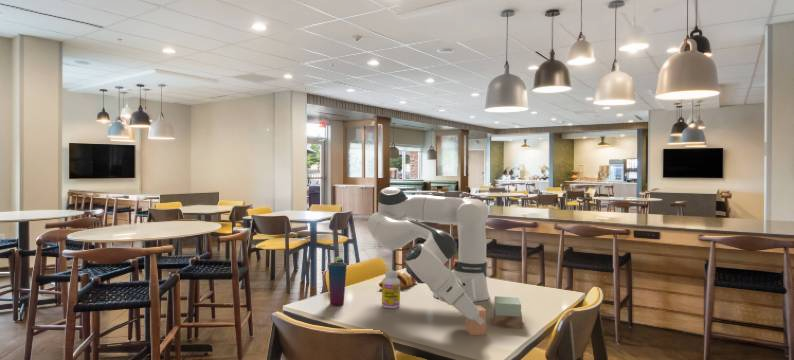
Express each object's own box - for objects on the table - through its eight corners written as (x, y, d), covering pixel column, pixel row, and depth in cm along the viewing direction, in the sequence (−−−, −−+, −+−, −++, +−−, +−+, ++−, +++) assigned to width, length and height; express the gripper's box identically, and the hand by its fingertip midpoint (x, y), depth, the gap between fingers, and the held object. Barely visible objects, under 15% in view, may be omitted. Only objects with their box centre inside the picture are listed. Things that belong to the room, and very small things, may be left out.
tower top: (495, 315, 146) (495, 303, 145) (494, 307, 153) (494, 296, 153) (520, 316, 144) (521, 304, 144) (518, 309, 152) (518, 297, 152)
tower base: (493, 327, 146) (493, 315, 145) (493, 318, 154) (493, 307, 154) (522, 330, 144) (522, 317, 143) (520, 321, 152) (520, 309, 152)
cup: (328, 301, 170) (328, 262, 170) (346, 301, 171) (346, 262, 170) (327, 306, 163) (327, 265, 163) (345, 306, 164) (346, 265, 164)
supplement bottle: (381, 308, 162) (382, 273, 162) (382, 303, 169) (382, 269, 168) (399, 309, 162) (400, 273, 162) (399, 303, 169) (400, 269, 168)
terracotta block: (469, 334, 138) (470, 310, 137) (465, 329, 143) (466, 305, 142) (485, 334, 138) (486, 310, 138) (480, 328, 143) (481, 305, 143)
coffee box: (333, 286, 192) (334, 256, 191) (340, 286, 192) (341, 256, 192) (336, 291, 184) (336, 260, 184) (343, 291, 185) (343, 259, 184)
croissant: (411, 289, 203) (406, 272, 206) (426, 282, 196) (420, 265, 199) (375, 296, 189) (370, 278, 192) (389, 289, 182) (384, 270, 185)
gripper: (433, 285, 149) (461, 314, 150) (447, 303, 129) (480, 336, 130) (447, 272, 150) (474, 300, 151) (463, 288, 129) (495, 320, 131)
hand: (477, 317), depth 140 cm, fingers open, 8 cm apart
